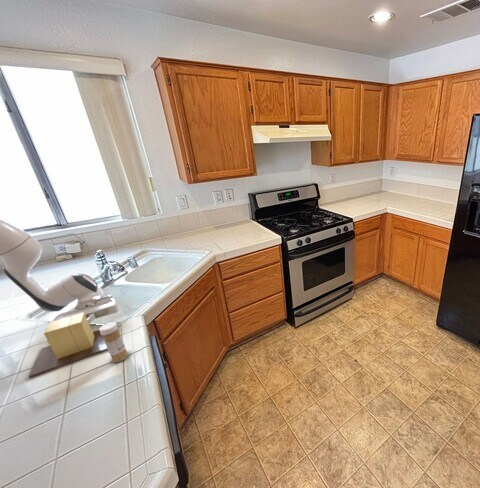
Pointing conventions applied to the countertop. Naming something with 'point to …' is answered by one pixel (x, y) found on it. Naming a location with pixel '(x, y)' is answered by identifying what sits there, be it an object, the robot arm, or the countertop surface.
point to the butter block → (61, 338)
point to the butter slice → (81, 331)
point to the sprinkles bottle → (113, 341)
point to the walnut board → (50, 362)
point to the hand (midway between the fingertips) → (85, 323)
